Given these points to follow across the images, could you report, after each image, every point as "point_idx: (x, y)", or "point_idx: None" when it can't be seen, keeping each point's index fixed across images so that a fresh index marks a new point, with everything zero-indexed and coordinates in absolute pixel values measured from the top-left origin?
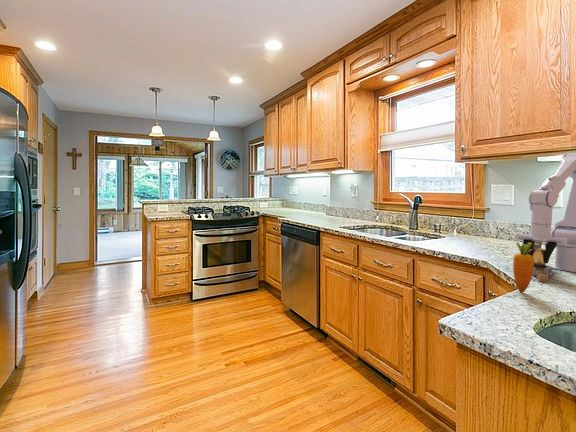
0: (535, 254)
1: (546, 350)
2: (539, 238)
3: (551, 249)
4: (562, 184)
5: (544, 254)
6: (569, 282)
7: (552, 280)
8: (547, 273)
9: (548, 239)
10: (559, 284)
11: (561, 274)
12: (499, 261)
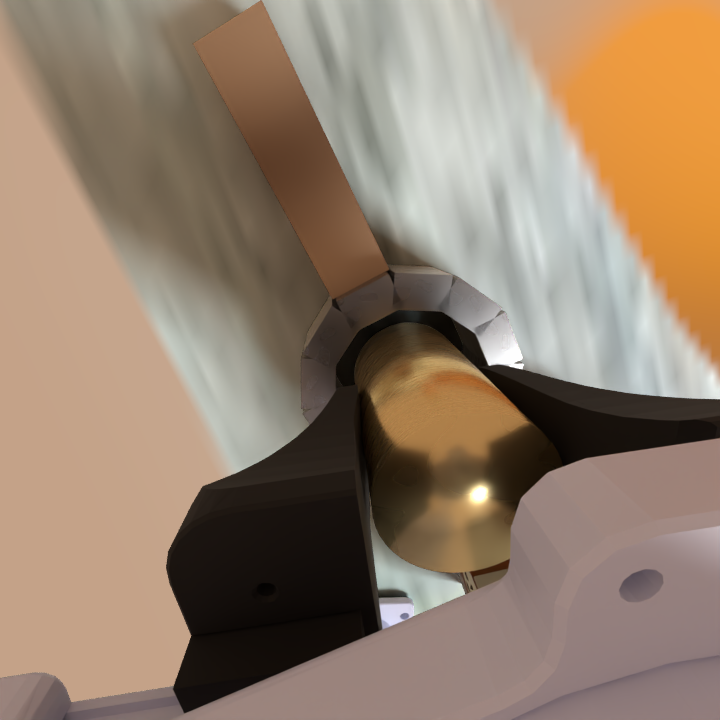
0: (465, 379)
1: None
2: (593, 497)
3: (256, 466)
4: None
5: (371, 435)
6: (144, 278)
7: (241, 226)
8: (314, 325)
9: (293, 688)
10: (137, 108)
11: None
12: None
